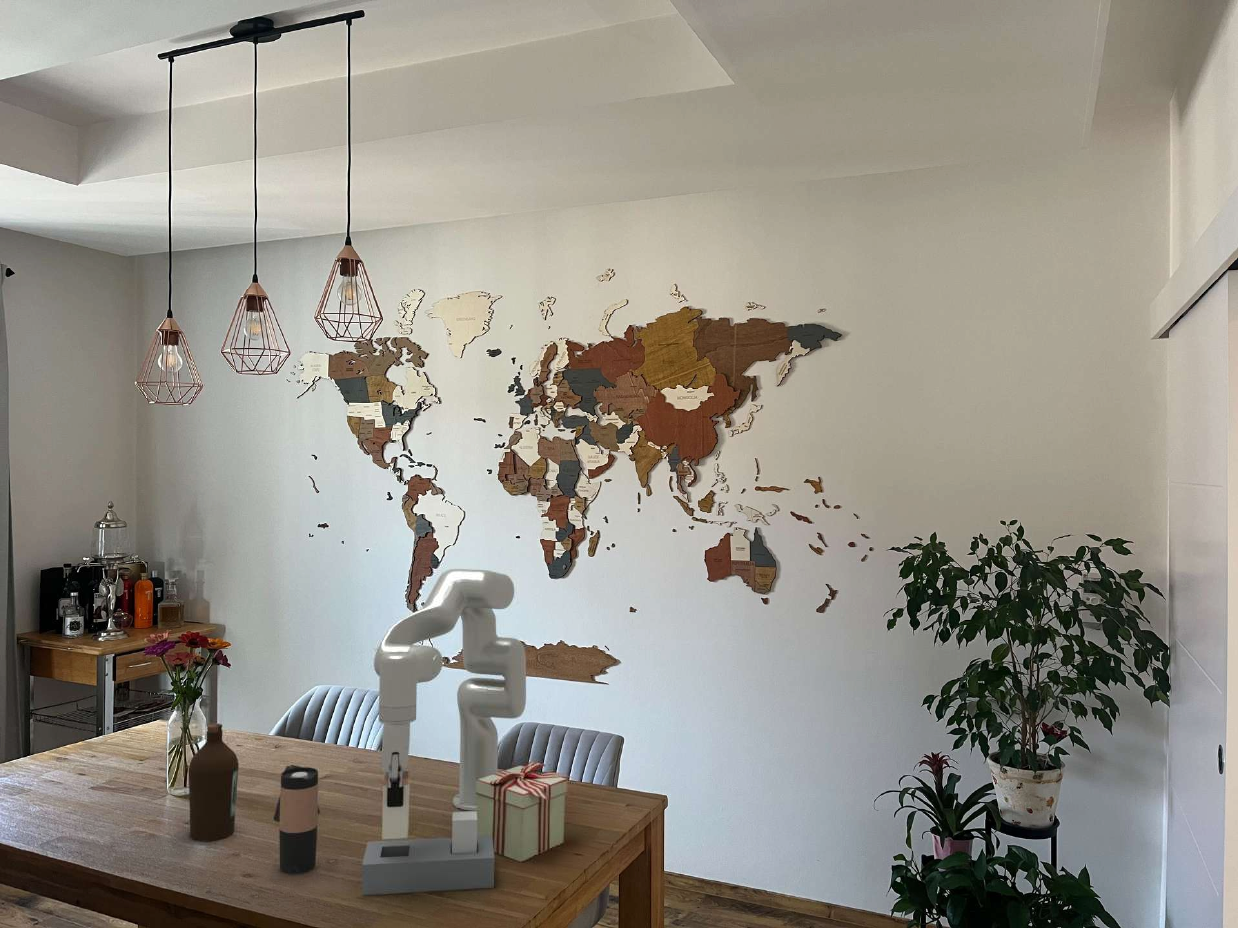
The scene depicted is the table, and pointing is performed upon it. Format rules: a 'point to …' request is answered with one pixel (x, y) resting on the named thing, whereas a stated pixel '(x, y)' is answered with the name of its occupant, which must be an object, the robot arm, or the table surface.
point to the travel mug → (298, 820)
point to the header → (431, 861)
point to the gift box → (522, 810)
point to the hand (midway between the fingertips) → (395, 800)
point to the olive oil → (213, 788)
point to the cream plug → (396, 811)
